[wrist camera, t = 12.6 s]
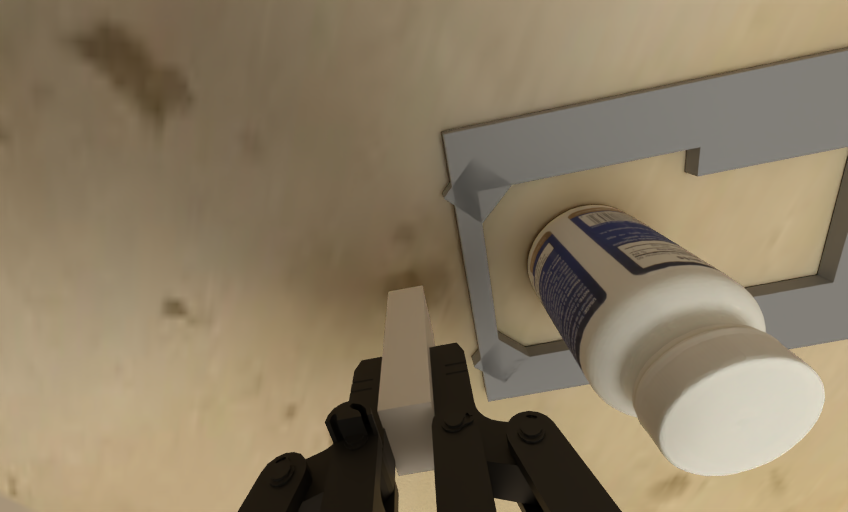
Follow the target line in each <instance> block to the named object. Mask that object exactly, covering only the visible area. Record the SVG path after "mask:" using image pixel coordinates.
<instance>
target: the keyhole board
mask: <svg viewBox="0 0 848 512" xmlns="http://www.w3.org/2000/svg"><path fill="white" fill-rule="evenodd" d="M442 136H443V142H444V148H445V154H446V160H447V166H448V172H449V178H450V183H449V184H448V186H447V187H446V189H445V190H444V191H443V193H442V194H443V197H444V199H445V200H447V201H449V202H450V203H452V204H453V205H454V207H455V213H456V219H457V225H458V231H459V237H460V243H461V249H462V255H463V260H464V266H465V272H466V278H467V284H468V290H469V296H470V302H471V308H472V314H473V319H474V325H475V331H476V337H477V343H478V350H477V351H476V352H475V354H474V355H473V356H472V360H473V364H474V367H475V368H477V369H479V370H481V371H482V373H483V378H484V384H485V390H486V394H487V399H488V402H489V401H495V400H501V399H506V398H512V397H518V396H524V395H529V394H535V393H541V392H547V391H552V390H558V389H564V388H569V387H575V386H581V385H587V384H590V383H589V382H588V380H587V379H586V377H585V375H584V374H583V372H582V370H581V369H580V367H579V365H578V364H577V362H576V360H575V359H574V357H573V355H572V353H571V352H570V350H569V348H568V347H567V345H566V343H565V342H564V340H561V341H556V342H550V343H545V344H539V345H534V346H528V347H524V346H522V345H521V344H519V343H517V342H515V341H514V340H512V339H510V338H508V337H507V336H505V335H503V334H501V333H500V332H498V331H497V325H496V318H495V311H494V303H493V296H492V289H491V282H490V275H489V268H488V261H487V254H486V247H485V239H484V232H483V225H482V223H483V222H484V221H485V219H486V218H487V217H488V215H489V214H490V213H491V211H492V210H493V209H494V208H495V206H496V205H497V204H498V202H499V201H500V200H501V198H502V197H503V196H504V195H505V193H506V192H507V191H508V189H509V188H510V187H511V185H514V184H519V183H524V182H529V181H534V180H539V179H544V178H549V177H554V176H559V175H564V174H569V173H574V172H579V171H584V170H589V169H594V168H599V167H604V166H609V165H614V164H619V163H624V162H629V161H634V160H639V159H644V158H649V157H654V156H659V155H664V154H669V153H674V152H679V151H684V150H687V156H686V167H685V172H686V173H689V174H692V175H695V176H702V175H707V174H712V173H717V172H722V171H727V170H733V169H738V168H743V167H748V166H753V165H758V164H763V163H768V162H773V161H778V160H783V159H789V158H794V157H799V156H804V155H809V154H814V153H819V152H824V151H829V150H834V149H839V148H844V147H848V47H847V48H842V49H837V50H832V51H827V52H823V53H818V54H813V55H808V56H803V57H799V58H794V59H789V60H784V61H779V62H775V63H770V64H765V65H760V66H755V67H751V68H746V69H741V70H736V71H731V72H727V73H722V74H717V75H712V76H707V77H703V78H698V79H693V80H688V81H683V82H679V83H674V84H669V85H664V86H659V87H655V88H650V89H645V90H640V91H635V92H631V93H626V94H621V95H616V96H611V97H607V98H602V99H597V100H592V101H587V102H582V103H578V104H573V105H568V106H563V107H558V108H554V109H549V110H544V111H539V112H534V113H530V114H525V115H520V116H515V117H510V118H506V119H501V120H496V121H491V122H486V123H482V124H477V125H472V126H467V127H462V128H458V129H453V130H448V131H443V132H442ZM745 289H746V290H747V291H748V292H749V293H750V294H751V295H752V296H753V298H754V299H755V300H756V302H757V303H758V305H759V307H760V309H761V312H762V314H763V317H764V321H765V327H766V333H767V334H769V335H771V336H773V337H774V338H776V339H777V340H778V341H779V342H780V343H781V344H782V345H783V346H785V347H786V348H787V349H793V348H799V347H805V346H811V345H816V344H822V343H828V342H834V341H839V340H845V339H848V160H847V164H846V168H845V171H844V175H843V179H842V183H841V187H840V191H839V194H838V198H837V202H836V206H835V210H834V213H833V217H832V221H831V225H830V229H829V233H828V236H827V240H826V244H825V248H824V252H823V255H822V259H821V263H820V267H819V271H818V274H817V275H813V276H808V277H802V278H797V279H791V280H786V281H781V282H775V283H770V284H764V285H759V286H753V287H748V288H745Z"/></svg>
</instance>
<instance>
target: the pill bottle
mask: <svg viewBox="0 0 848 512" xmlns="http://www.w3.org/2000/svg"><path fill="white" fill-rule="evenodd" d="M528 275H529V278H530V282H531V284H532V287H533V289H534V290H535V292H536V294H537V296H538V298H539V300H540V301H541V303H542V305H543V306H544V308H545V309H546V311H547V313H548V314H549V316H550V318H551V319H552V321H553V323H554V325H555V326H556V328H557V330H558V331H559V333H560V335H561V336H562V338H563V340H564V342H565V343H566V345H567V347H568V348H569V350H570V352H571V353H572V355H573V357H574V359H575V360H576V362H577V364H578V365H579V367H580V369H581V370H582V372H583V374H584V375H585V377H586V379H587V380H588V382H589V383H590V385H591V386H592V388H593V389H594V391H595V392H596V393H597V394H598V395H599V397H600V398H601V399H603V400H604V401H605V402H606V403H607V404H608V405H610V406H611V407H613V408H615V409H616V410H618V411H620V412H622V413H625V414H627V415H630V416H634V417H637V418H638V420H639V422H640V424H641V425H642V426H643V428H644V429H645V430H646V431H647V433H648V434H649V435H650V437H651V438H652V440H653V441H654V442H655V444H656V445H657V447H658V448H659V450H660V451H661V452H662V454H663V455H664V457H665V458H666V459H667V460H668V461H669V462H671V463H672V464H673V465H674V466H676V467H677V468H679V469H681V470H684V471H686V472H689V473H692V474H698V475H703V476H723V475H731V474H736V473H740V472H743V471H748V470H751V469H754V468H756V467H759V466H762V465H764V464H767V463H769V462H771V461H772V460H775V459H776V458H778V457H779V456H781V455H783V454H784V453H786V452H787V451H788V450H790V449H791V448H792V447H793V446H795V445H796V444H797V443H798V442H799V441H801V439H803V438H804V437H805V435H806V434H807V433H808V432H809V431H810V430H811V428H812V427H813V426H814V424H815V423H816V422H817V420H818V418H819V416H820V414H821V411H822V409H823V404H824V401H825V393H824V386H823V383H822V381H821V378H820V377H819V375H818V374H817V373H816V372H815V370H814V369H812V368H811V367H810V366H809V365H808V364H807V363H805V362H804V361H803V360H801V359H800V358H799V357H797V356H796V355H795V354H794V353H792V352H791V351H790V350H788V349H787V348H786V347H785V346H783V345H782V344H781V343H780V342H779V341H778V340H777V339H776V338H774V337H773V336H771V335H769V334H767V333H766V327H765V321H764V317H763V314H762V312H761V309H760V307H759V305H758V303H757V302H756V300H755V299H754V298H753V296H752V295H751V294H750V293H749V292H748V291H747V290H746V289H745V288H744V287H743V286H741V285H740V284H739V283H737V282H736V281H735V280H733V279H732V278H730V277H729V276H727V275H726V274H724V273H722V272H721V271H719V270H718V269H716V268H715V267H713V266H711V265H710V264H708V263H706V262H705V261H703V260H701V259H700V258H698V257H697V256H695V255H694V254H692V253H690V252H689V251H687V250H685V249H684V248H682V247H681V246H679V245H677V244H676V243H674V242H673V241H671V240H669V239H668V238H666V237H664V236H663V235H661V234H659V233H658V232H656V231H654V230H653V229H651V228H650V227H649V226H647V225H645V224H644V223H642V222H640V221H638V220H637V219H635V218H634V217H632V216H630V215H628V214H626V213H624V212H623V211H621V210H618V209H616V208H613V207H609V206H603V205H587V206H580V207H577V208H574V209H570V210H568V211H566V212H565V213H563V214H561V215H559V216H558V217H556V218H555V219H554V220H552V221H551V222H550V223H548V224H547V225H546V226H545V228H544V229H543V230H542V231H541V232H540V233H539V235H538V236H537V237H536V239H535V241H534V243H533V245H532V248H531V250H530V253H529V256H528Z"/></svg>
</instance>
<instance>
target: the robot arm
mask: <svg viewBox="0 0 848 512" xmlns="http://www.w3.org/2000/svg"><path fill="white" fill-rule="evenodd" d="M325 424H326V426H327V429H328V431H329V433H330V436H331V438H332V441H333V445H332V446H330V447H329V448H328V449H326V450H324V451H322V452H320V453H318V454H316V455H314V456H312V457H310V458H307V459H305V458H304V457H303V456H302V455H301V454H299V453H295V452H291V453H285V454H283V455H280V456H278V457H276V458H275V459H274V460H272V461H271V462H270V463H268V464H267V466H266V467H265V468H264V469H263V471H262V472H261V474H260V475H259V477H258V479H257V480H256V482H255V484H254V485H253V487H252V489H251V490H250V492H249V494H248V495H247V497H246V499H245V500H244V502H243V504H242V505H241V507H240V509H239V510H238V512H398V497H399V494H398V489H397V485H396V482H395V466H396V469H397V472H398V475H399V476H401V475H407V474H413V473H419V472H425V471H431V470H434V472H435V488H436V504H437V512H496V507H495V502H494V498H497V499H503V500H508V501H514V502H517V504H518V506H519V507H520V509H521V511H522V512H622V511H621V510H620V509H619V507H618V506H617V505H616V504H615V502H614V501H613V500H612V498H611V497H610V496H609V494H608V493H607V492H606V490H605V489H604V488H603V486H602V485H601V484H600V482H599V481H598V480H597V478H596V477H595V476H594V475H593V473H592V472H591V471H590V469H589V468H588V467H587V465H586V464H585V463H584V461H583V460H582V459H581V457H580V456H579V455H578V453H577V452H576V451H575V450H574V448H573V447H572V446H571V444H570V443H569V442H568V440H567V439H566V438H565V436H564V435H563V434H562V432H561V431H560V430H559V428H558V427H557V426H556V425H555V423H554V422H553V421H552V420H551V419H550V418H549V417H547V416H546V415H544V414H541V413H539V412H533V411H526V412H521V413H518V414H516V415H515V416H513V417H512V418H511V419H510V421H509V422H502V421H496V420H491V419H489V418H487V417H485V416H483V415H482V414H481V413H480V412H479V411H478V410H477V408H476V406H475V403H474V399H473V394H472V389H471V384H470V379H469V374H468V369H467V364H466V359H465V354H464V350H463V349H462V348H461V347H460V346H459V345H458V344H457V343H451V344H446V345H440V346H435V341H434V334H433V330H432V325H431V321H430V316H429V312H428V307H427V303H426V298H425V294H424V289H423V285H421V286H416V287H410V288H405V289H400V290H394V291H389V292H388V300H387V311H386V322H385V333H384V344H383V355H382V357H378V358H373V359H367V360H362V361H361V362H360V364H359V365H358V367H357V368H356V370H355V371H354V376H353V384H352V387H351V393H350V398H349V401H348V402H345V403H342V404H340V405H339V406H337V407H336V408H334V409H333V410H332V411H331V413H330V414H329V415H328V417H327V419H326V421H325Z"/></svg>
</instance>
